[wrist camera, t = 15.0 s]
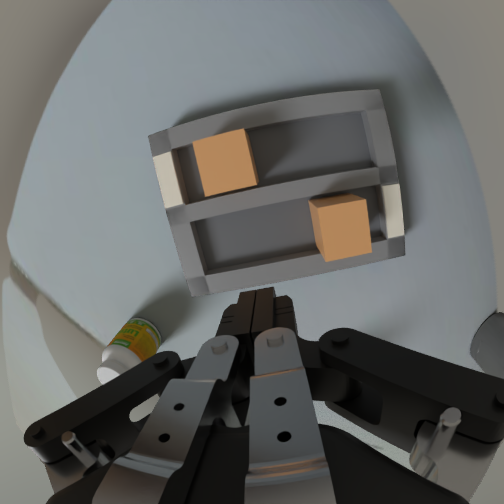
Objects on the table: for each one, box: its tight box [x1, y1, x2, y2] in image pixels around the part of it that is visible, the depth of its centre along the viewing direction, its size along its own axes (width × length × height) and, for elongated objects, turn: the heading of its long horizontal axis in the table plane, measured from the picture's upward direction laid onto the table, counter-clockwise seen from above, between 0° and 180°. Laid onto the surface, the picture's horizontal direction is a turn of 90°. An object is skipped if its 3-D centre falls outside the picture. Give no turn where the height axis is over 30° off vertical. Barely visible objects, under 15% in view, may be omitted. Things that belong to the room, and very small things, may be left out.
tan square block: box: [192, 128, 259, 197], centre depth 22 cm, size 4×4×5 cm
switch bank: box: [148, 89, 405, 297], centre depth 26 cm, size 22×16×4 cm
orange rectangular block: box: [308, 193, 372, 262], centre depth 23 cm, size 4×4×5 cm
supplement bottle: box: [97, 318, 161, 384], centre depth 29 cm, size 5×5×10 cm
